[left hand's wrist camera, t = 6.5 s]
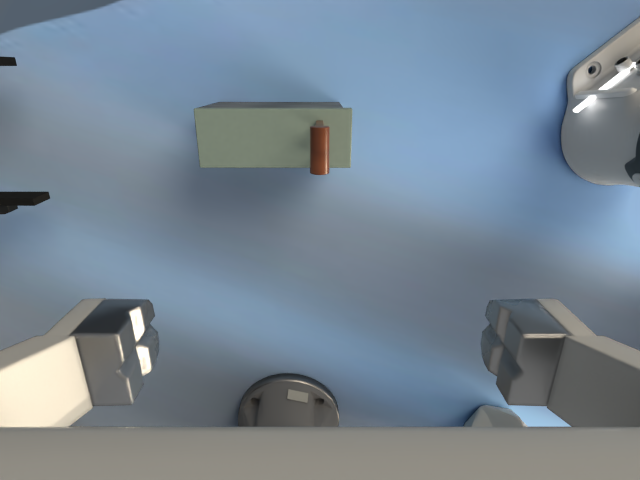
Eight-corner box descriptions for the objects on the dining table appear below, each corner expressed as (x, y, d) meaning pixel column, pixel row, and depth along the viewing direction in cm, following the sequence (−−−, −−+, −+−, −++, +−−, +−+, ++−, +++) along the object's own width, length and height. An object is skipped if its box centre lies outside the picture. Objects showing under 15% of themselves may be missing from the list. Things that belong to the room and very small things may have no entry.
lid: (351, 107, 39) (359, 115, 32) (349, 165, 41) (356, 185, 34) (197, 107, 39) (167, 115, 31) (203, 164, 41) (176, 185, 34)
